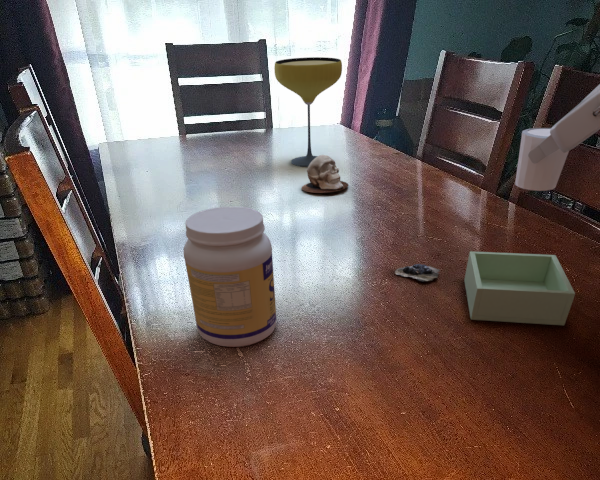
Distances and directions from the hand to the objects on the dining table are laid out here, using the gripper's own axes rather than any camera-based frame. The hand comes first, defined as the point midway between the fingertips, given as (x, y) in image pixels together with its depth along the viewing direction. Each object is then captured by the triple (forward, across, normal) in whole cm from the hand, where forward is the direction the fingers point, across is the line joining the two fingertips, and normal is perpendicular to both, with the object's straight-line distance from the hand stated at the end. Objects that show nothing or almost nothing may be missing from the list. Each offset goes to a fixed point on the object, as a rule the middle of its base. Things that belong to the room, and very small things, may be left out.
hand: (538, 151), depth 72 cm
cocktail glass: (+66, +53, +36) cm, 92 cm away
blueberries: (+26, -2, -5) cm, 26 cm away
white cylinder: (+3, 0, -4) cm, 5 cm away
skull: (+54, +33, +24) cm, 68 cm away
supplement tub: (+37, -33, +7) cm, 50 cm away
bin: (+14, -4, -16) cm, 22 cm away
